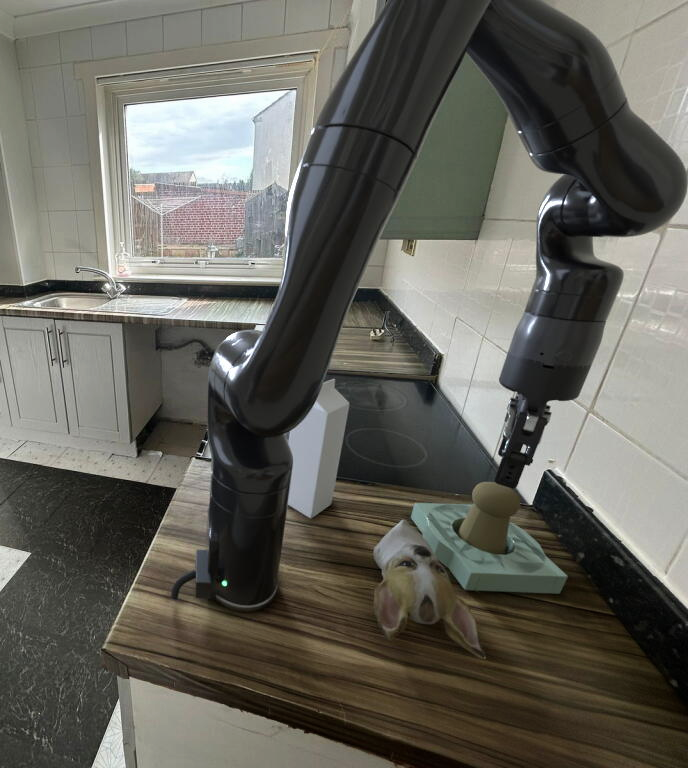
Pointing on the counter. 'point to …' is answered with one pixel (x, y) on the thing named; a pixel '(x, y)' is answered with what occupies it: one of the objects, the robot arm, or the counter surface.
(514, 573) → the plate
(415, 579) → the dog head figure
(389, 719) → the counter surface
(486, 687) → the counter surface
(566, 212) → the robot arm
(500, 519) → the cork
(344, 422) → the milk
